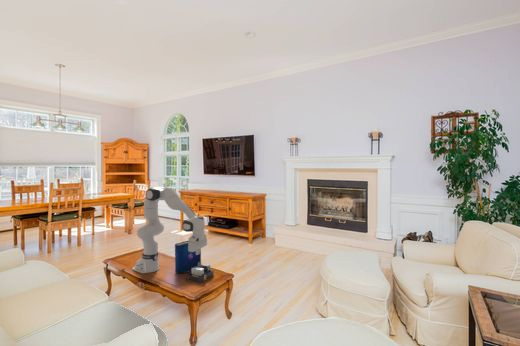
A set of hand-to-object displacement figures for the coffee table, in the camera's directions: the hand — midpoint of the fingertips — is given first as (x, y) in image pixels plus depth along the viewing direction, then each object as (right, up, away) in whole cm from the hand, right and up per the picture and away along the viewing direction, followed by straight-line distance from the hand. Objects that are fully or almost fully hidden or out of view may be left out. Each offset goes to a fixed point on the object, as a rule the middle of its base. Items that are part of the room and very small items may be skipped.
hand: (197, 254), depth 206 cm
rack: (+1, -20, +4) cm, 21 cm away
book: (-13, -20, +17) cm, 29 cm away
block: (0, -20, 0) cm, 20 cm away
